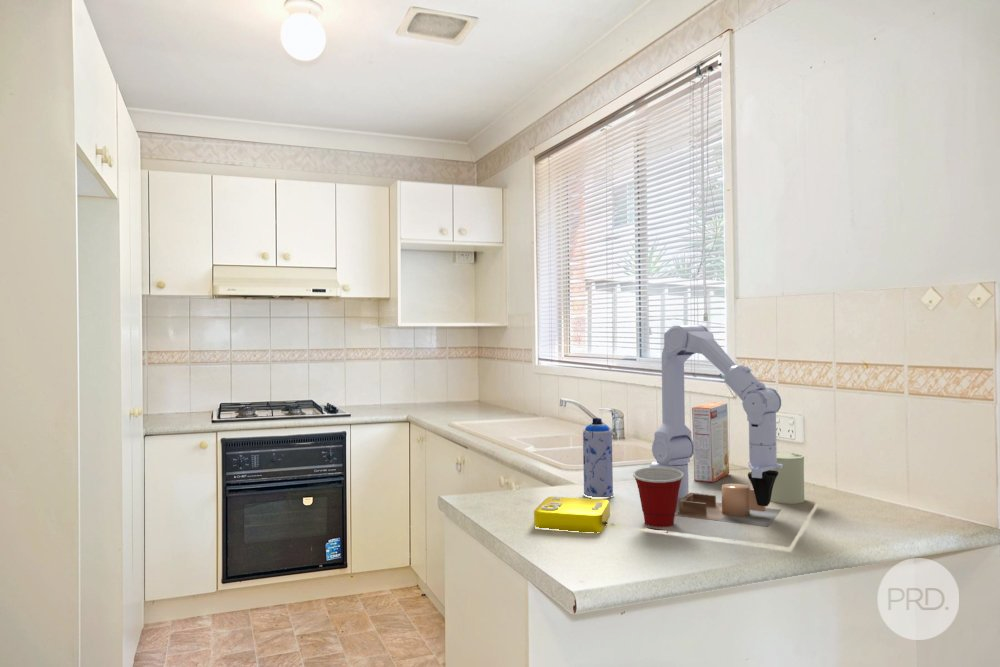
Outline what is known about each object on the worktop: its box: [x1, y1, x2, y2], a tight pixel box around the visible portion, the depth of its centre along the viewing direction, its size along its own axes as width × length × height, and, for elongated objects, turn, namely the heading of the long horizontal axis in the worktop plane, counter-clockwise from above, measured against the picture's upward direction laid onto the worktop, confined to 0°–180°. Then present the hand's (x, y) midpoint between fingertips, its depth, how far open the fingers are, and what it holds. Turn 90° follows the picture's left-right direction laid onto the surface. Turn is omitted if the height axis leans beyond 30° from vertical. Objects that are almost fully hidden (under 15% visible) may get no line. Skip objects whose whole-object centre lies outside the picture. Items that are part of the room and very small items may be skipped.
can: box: [770, 451, 806, 505], centre depth 173 cm, size 9×9×12 cm
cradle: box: [675, 492, 782, 528], centre depth 161 cm, size 16×20×3 cm
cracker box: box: [691, 401, 730, 483], centre depth 203 cm, size 14×6×21 cm, turn 144°
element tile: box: [533, 496, 611, 533], centre depth 158 cm, size 15×15×5 cm
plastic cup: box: [632, 466, 684, 531], centre depth 153 cm, size 11×11×12 cm
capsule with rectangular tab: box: [721, 483, 766, 517], centre depth 160 cm, size 6×9×6 cm, turn 59°
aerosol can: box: [582, 417, 614, 497], centre depth 183 cm, size 8×8×20 cm
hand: (763, 504), depth 157 cm, fingers closed on capsule with rectangular tab
